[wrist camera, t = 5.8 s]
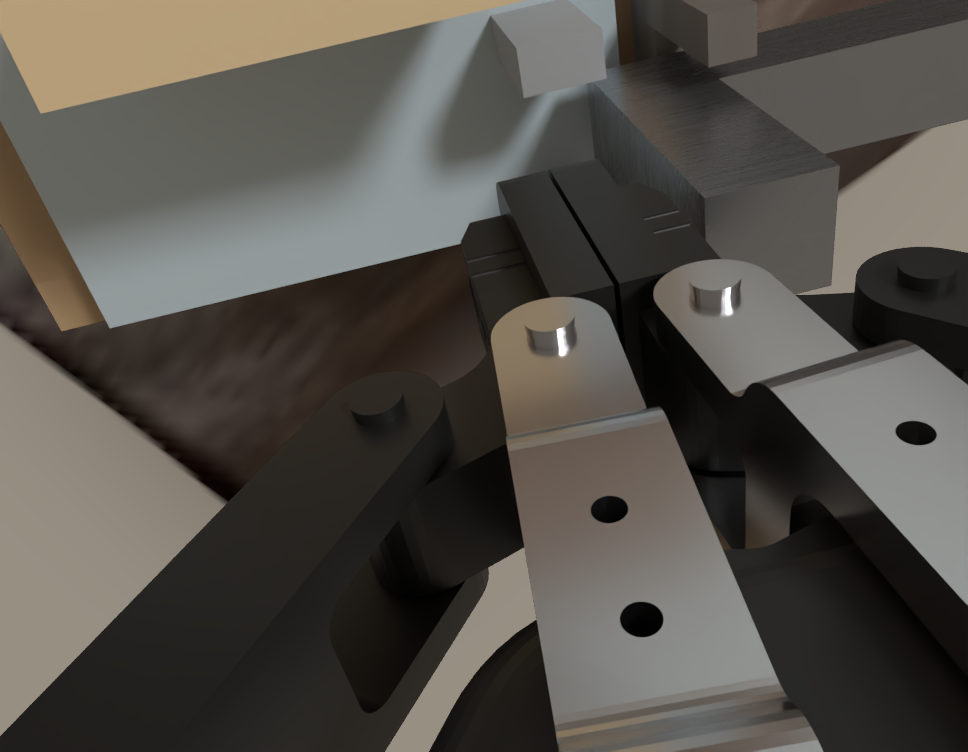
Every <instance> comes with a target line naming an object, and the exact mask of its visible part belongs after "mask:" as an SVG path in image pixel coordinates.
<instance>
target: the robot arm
mask: <svg viewBox="0 0 968 752" xmlns="http://www.w3.org/2000/svg"><path fill="white" fill-rule="evenodd" d="M496 191H497V198H498V204H499V210H500V216H496V217H492V218H488V219H484V220H479V221H475V222H471V223H469V225H468V227H467V230H466V232H465V234H464V236H463V238H462V240H461V246H462V250H463V255H464V260H465V264H466V269H467V273H468V278H469V283H470V287H471V292H472V297H473V301H474V306H475V310H476V315H477V320H478V324H479V329H480V332H481V335H482V339H483V342H484V345H485V348H486V352H487V354H486V355H485V357H484V358H483V360H482V361H481V362H480V363H479V364H478V365H477V366H476V367H475V368H474V369H473V370H472V371H470V372H469V373H467V374H466V375H465V376H463V377H461V378H460V379H458V380H456V381H454V382H452V383H450V384H448V385H446V386H444V387H442V388H440V387H439V385H438V384H437V383H436V382H435V381H434V380H432V379H431V378H429V377H427V376H425V375H423V374H420V373H416V372H410V371H388V372H382V373H377V374H373V375H369V376H366V377H363V378H361V379H359V380H356V381H354V382H352V383H350V384H348V385H347V386H345V387H343V388H342V389H340V390H339V391H338V392H336V393H335V394H334V395H333V396H332V397H331V398H329V399H328V400H327V401H326V402H325V403H324V405H323V406H322V407H321V408H320V409H319V410H318V411H317V412H316V413H315V414H314V415H313V416H312V417H311V418H310V419H309V420H308V421H307V422H306V423H305V424H304V425H303V426H302V427H301V428H300V429H299V430H298V431H297V432H296V433H295V434H294V435H293V436H292V437H291V438H290V439H289V440H288V441H287V442H286V444H285V445H284V446H283V447H282V448H281V449H280V450H279V451H278V452H277V453H276V454H275V455H274V456H273V457H272V458H271V459H270V460H269V461H268V462H267V463H266V464H265V465H264V466H263V467H262V468H261V469H260V470H259V471H258V472H257V473H256V474H255V475H254V476H253V477H252V478H251V479H250V480H249V481H248V483H247V484H246V485H245V486H244V487H243V488H242V489H241V490H240V491H239V492H238V493H237V494H236V495H235V496H234V497H233V498H232V499H231V500H230V501H229V502H228V503H227V504H226V505H225V506H224V507H223V508H222V509H221V510H220V511H219V512H218V513H217V514H216V515H215V516H214V517H213V518H212V519H211V521H210V522H209V523H208V524H207V525H206V526H205V527H204V528H203V529H202V530H201V531H200V532H199V533H198V534H197V535H196V536H195V537H194V538H193V539H192V540H191V541H190V542H189V543H188V544H187V545H186V546H185V547H184V548H183V549H182V550H181V551H180V552H179V553H178V554H177V555H176V557H174V558H173V559H172V561H171V562H170V563H169V564H168V565H167V566H166V567H165V568H164V569H163V570H162V571H161V572H160V573H159V574H158V575H157V576H156V577H155V578H154V579H153V580H152V581H151V582H150V583H149V584H148V585H147V586H146V587H145V588H144V589H143V590H142V592H140V593H139V594H138V595H137V597H135V598H134V599H133V601H132V602H131V603H130V604H129V605H128V606H127V607H126V608H125V609H124V610H123V611H122V612H121V613H120V614H119V615H118V616H117V617H116V618H115V619H114V620H113V621H112V622H111V623H110V624H109V625H108V626H107V627H106V628H105V629H104V630H103V631H102V632H101V633H100V634H99V635H98V637H96V638H95V640H94V641H93V642H92V643H91V644H90V645H89V646H88V647H87V648H86V649H85V650H84V651H83V652H82V653H81V654H80V655H79V656H78V657H77V658H76V659H75V660H74V661H73V662H72V663H71V664H70V665H69V666H68V667H67V668H66V669H65V670H64V671H63V672H62V673H61V674H60V675H59V676H58V677H57V679H56V680H55V681H54V682H53V683H52V684H51V685H50V686H49V687H48V688H47V689H46V690H45V691H44V692H43V693H42V694H41V695H40V696H39V697H38V698H37V699H36V700H35V701H34V702H33V703H32V704H31V705H30V706H29V707H28V708H27V709H26V710H25V711H24V712H23V714H21V715H20V716H19V718H18V719H17V720H16V721H15V722H14V723H13V724H12V725H11V726H10V727H9V728H8V729H7V730H6V731H5V732H4V733H3V734H2V735H1V736H0V752H385V750H386V749H387V747H388V745H389V744H390V742H391V741H392V739H393V738H394V736H395V734H396V733H397V731H398V730H399V728H400V726H401V725H402V723H403V722H404V720H405V718H406V717H407V715H408V714H409V712H410V710H411V709H412V707H413V706H414V704H415V702H416V701H417V699H418V697H419V696H420V694H421V693H422V691H423V689H424V688H425V686H426V685H427V683H428V681H429V680H430V678H431V676H432V675H433V673H434V672H435V670H436V669H437V667H438V665H439V664H440V662H441V661H442V659H443V657H444V656H445V654H446V652H447V651H448V649H449V648H450V646H451V644H452V643H453V641H454V640H455V638H456V637H457V635H458V633H459V632H460V630H461V628H462V627H463V625H464V624H465V622H466V620H467V618H468V617H469V616H470V614H471V612H472V611H473V609H474V607H475V606H476V604H477V603H478V601H479V600H480V598H481V596H482V595H483V592H484V591H485V588H486V586H487V582H488V575H489V571H488V567H490V566H492V565H493V564H495V563H497V562H499V561H501V560H502V559H504V558H506V557H508V556H509V555H511V554H513V553H515V552H516V551H518V550H520V549H522V548H525V554H526V559H527V565H528V572H529V577H530V583H531V589H532V595H533V601H534V607H535V612H536V619H537V620H535V621H534V622H532V623H531V624H529V625H528V626H526V627H525V628H523V629H522V630H520V631H519V632H517V633H516V634H515V635H514V636H512V637H511V638H510V639H509V640H508V641H507V642H505V643H504V644H503V645H502V646H501V647H500V648H498V649H497V650H496V651H495V653H493V655H492V656H491V657H490V658H489V659H488V660H487V661H486V662H485V663H484V664H483V665H482V666H481V667H480V669H479V670H478V671H477V672H476V674H475V675H474V676H473V678H472V679H471V681H470V682H469V683H468V685H467V686H466V687H465V689H464V690H463V692H462V693H461V695H460V696H459V698H458V700H457V701H456V703H455V705H454V707H453V708H452V710H451V712H450V714H449V716H448V717H447V719H446V721H445V723H444V725H443V727H442V729H441V731H440V732H439V734H438V736H437V738H436V740H435V741H434V743H433V745H432V747H431V749H430V751H429V752H968V253H965V252H959V251H955V250H949V249H942V248H934V247H910V248H901V249H895V250H890V251H887V252H883V253H881V254H878V255H876V256H874V257H872V258H870V259H868V260H867V261H866V262H864V263H863V264H862V265H861V266H860V268H859V269H858V271H857V274H856V283H855V292H854V293H842V294H821V295H794V294H793V293H792V292H791V291H790V290H789V289H788V288H786V287H785V286H784V285H783V284H782V283H781V282H780V281H778V280H777V279H776V278H775V277H774V276H773V275H772V274H770V273H769V272H768V271H766V270H765V269H763V268H761V267H759V266H757V265H754V264H751V263H747V262H743V261H737V260H728V259H721V258H720V257H719V256H718V254H717V253H716V252H715V251H714V250H713V249H712V248H711V246H710V245H709V244H708V243H707V242H706V241H705V239H704V238H703V237H702V236H701V235H700V234H699V232H698V231H697V230H696V229H695V228H694V227H693V225H692V226H690V222H689V221H688V220H687V218H686V217H685V216H684V215H683V214H682V213H681V212H680V213H679V210H678V208H677V207H676V206H675V204H674V203H673V202H672V201H671V200H670V199H669V198H668V196H667V195H666V194H665V193H663V192H661V191H658V190H656V189H654V188H651V187H649V186H646V185H644V184H641V183H639V182H638V183H634V184H630V185H626V186H622V187H619V186H618V185H617V184H616V182H615V181H614V180H613V178H612V177H611V176H610V174H609V173H608V172H607V171H606V169H605V168H604V167H603V165H602V164H601V163H600V161H599V160H598V159H593V160H588V161H584V162H580V163H576V164H572V165H567V166H563V167H559V168H555V169H550V170H548V171H547V173H546V172H545V171H543V172H538V173H534V174H530V175H526V176H521V177H517V178H513V179H509V180H505V181H500V182H497V183H496Z"/></svg>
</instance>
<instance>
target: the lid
mask: <svg viewBox="0 0 968 752" xmlns="http://www.w3.org/2000/svg"><path fill="white" fill-rule="evenodd" d="M617 66H620V61H619V49H618V37H617V25H616V13H615V1H614V0H0V121H1V123H2V125H3V127H4V129H5V131H6V133H7V135H8V136H9V138H10V140H11V142H12V144H13V146H14V148H15V150H16V152H17V153H18V155H19V157H20V159H21V161H22V163H23V165H24V167H25V169H26V171H27V172H28V174H29V176H30V178H31V180H32V182H33V184H34V186H35V188H36V189H37V191H38V193H39V195H40V197H41V199H42V201H43V203H44V205H45V207H46V208H47V210H48V212H49V214H50V216H51V218H52V220H53V222H54V224H55V225H56V227H57V229H58V231H59V233H60V235H61V237H62V239H63V241H64V243H65V244H66V246H67V248H68V250H69V252H70V254H71V256H72V258H73V260H74V261H75V263H76V265H77V267H78V269H79V271H80V273H81V275H82V277H83V279H84V280H85V282H86V284H87V286H88V288H89V290H90V292H91V294H92V296H93V297H94V299H95V301H96V303H97V305H98V307H99V309H100V311H101V313H102V315H103V316H104V318H105V320H106V322H107V324H108V326H109V328H113V327H118V326H122V325H126V324H130V323H134V322H138V321H142V320H147V319H151V318H155V317H159V316H163V315H167V314H171V313H176V312H180V311H184V310H188V309H192V308H196V307H200V306H205V305H209V304H213V303H217V302H221V301H225V300H229V299H234V298H238V297H242V296H246V295H250V294H254V293H258V292H262V291H267V290H271V289H275V288H279V287H283V286H287V285H291V284H296V283H300V282H304V281H308V280H312V279H316V278H320V277H325V276H329V275H333V274H337V273H341V272H345V271H349V270H354V269H358V268H362V267H366V266H370V265H374V264H378V263H382V262H387V261H391V260H395V259H399V258H403V257H407V256H411V255H416V254H420V253H424V252H428V251H432V250H436V249H440V248H445V247H449V246H453V245H457V244H461V240H462V238H463V236H464V234H465V232H466V230H467V227H468V225H469V223H471V222H475V221H479V220H484V219H488V218H492V217H496V216H500V210H499V204H498V198H497V191H496V183H497V182H500V181H505V180H509V179H513V178H517V177H521V176H526V175H530V174H534V173H538V172H543V171H545V172H546V173H547V171H548V170H550V169H555V168H559V167H563V166H567V165H572V164H576V163H580V162H584V161H588V160H593V159H595V155H594V146H593V136H592V127H591V118H590V108H589V99H588V90H587V83H590V82H594V81H599V80H603V79H607V76H606V69H608V68H613V67H617Z"/></svg>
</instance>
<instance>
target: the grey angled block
mask: <svg viewBox="0 0 968 752" xmlns="http://www.w3.org/2000/svg"><path fill="white" fill-rule="evenodd" d="M606 76H607V79H603V80H599V81H594V82H590V83H587V90H588V99H589V108H590V118H591V127H592V136H593V146H594V155H595V159H598V160H599V161H600V163H601V164H602V165H603V167H604V168H605V169H606V171H607V172H608V173H609V174H610V176H611V177H612V178H613V180H614V181H615V182H616V184H617V185H618V186H619V187H622V186H626V185H630V184H634V183H638V182H639V183H641V184H644V185H646V186H649V187H651V188H654V189H656V190H658V191H661V192H663V193H665V194H666V195H667V196H668V198H669V199H670V200H671V201H672V202H673V203H674V204H675V206H676V207H677V208H678V210H679V213H680V212H681V213H682V214H683V215H684V216H685V217H686V218H687V220H688V221H689V222H690V226H692V225H693V227H694V228H695V229H696V230H697V231H698V232H699V234H700V235H701V236H702V237H703V238H704V239H705V241H706V242H707V243H708V244H709V245H710V246H711V248H712V249H713V250H714V251H715V252H716V253H717V254H718V256H719V257H720V258H721V259H728V260H737V261H743V262H747V263H751V264H754V265H757V266H759V267H761V268H763V269H765V270H766V271H768V272H769V273H770V274H772V275H773V276H774V277H775V278H776V279H777V280H778V281H780V282H781V283H782V284H783V285H784V286H785V287H786V288H788V289H789V290H790V291H791V292H792V293H793V294H798V293H802V292H806V291H810V290H814V289H818V288H822V287H826V286H830V285H831V279H832V265H833V252H834V251H833V250H834V238H835V225H836V210H837V197H838V183H839V170H840V165H839V164H837V163H836V162H834V161H833V160H832V159H830V158H829V157H827V156H826V155H825V154H826V153H830V152H834V151H838V150H842V149H846V148H851V147H855V146H859V145H863V144H867V143H871V142H875V141H879V140H884V139H888V138H892V137H896V136H900V135H904V134H908V133H913V132H917V131H921V130H925V129H929V128H933V127H937V126H942V125H946V124H950V123H954V122H958V121H962V120H966V119H968V0H896V1H892V2H887V3H883V4H879V5H875V6H870V7H866V8H862V9H858V10H854V11H849V12H845V13H841V14H837V15H832V16H828V17H824V18H820V19H815V20H811V21H807V22H803V23H799V24H794V25H790V26H786V27H782V28H777V29H773V30H769V31H765V32H760V33H757V56H755V57H751V58H746V59H742V60H738V61H734V62H730V63H725V64H721V65H717V66H713V67H707V66H706V65H704V64H703V63H702V62H700V61H699V60H697V59H696V58H695V57H693V56H692V55H690V54H689V53H687V52H686V51H685V50H684V51H680V52H676V53H672V54H667V55H663V56H659V57H655V58H651V59H646V60H642V61H638V62H634V63H629V64H625V65H621V66H617V67H613V68H608V69H606Z"/></svg>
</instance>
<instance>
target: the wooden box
mask: <svg viewBox="0 0 968 752" xmlns="http://www.w3.org/2000/svg"><path fill="white" fill-rule="evenodd" d="M614 1H615V13H616V25H617V37H618V49H619V61H620V66H621V65H625V64H629V63H634V62H638V61H642V60H646V59H651V58H655V57H659V56H663V55H667V54H672V53H676V52H680V51H684V50H685V51H686V52H687V53H689V54H690V55H692V56H693V57H695V58H696V59H697V60H699V61H700V62H702V63H703V64H704V65H706V66H707V67H713V66H717V65H721V64H725V63H730V62H734V61H738V60H742V59H746V58H751V57H755V56H757V16H758V3H756V2H754V1H752V0H614ZM0 224H1V226H2V228H3V229H4V231H5V233H6V235H7V236H8V238H9V240H10V242H11V243H12V245H13V247H14V249H15V250H16V252H17V254H18V256H19V257H20V259H21V261H22V263H23V264H24V266H25V268H26V270H27V271H28V273H29V275H30V277H31V278H32V280H33V282H34V284H35V285H36V287H37V289H38V291H39V292H40V294H41V296H42V298H43V300H44V301H45V303H46V305H47V307H48V308H49V310H50V312H51V314H52V315H53V317H54V319H55V321H56V322H57V324H58V326H59V328H60V329H61V331H65V330H69V329H73V328H77V327H82V326H86V325H90V324H94V323H98V322H102V321H106V320H105V318H104V316H103V315H102V313H101V311H100V309H99V307H98V305H97V303H96V301H95V299H94V297H93V296H92V294H91V292H90V290H89V288H88V286H87V284H86V282H85V280H84V279H83V277H82V275H81V273H80V271H79V269H78V267H77V265H76V263H75V261H74V260H73V258H72V256H71V254H70V252H69V250H68V248H67V246H66V244H65V243H64V241H63V239H62V237H61V235H60V233H59V231H58V229H57V227H56V225H55V224H54V222H53V220H52V218H51V216H50V214H49V212H48V210H47V208H46V207H45V205H44V203H43V201H42V199H41V197H40V195H39V193H38V191H37V189H36V188H35V186H34V184H33V182H32V180H31V178H30V176H29V174H28V172H27V171H26V169H25V167H24V165H23V163H22V161H21V159H20V157H19V155H18V153H17V152H16V150H15V148H14V146H13V144H12V142H11V140H10V138H9V136H8V135H7V133H6V131H5V129H4V127H3V125H2V123H1V121H0Z"/></svg>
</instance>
